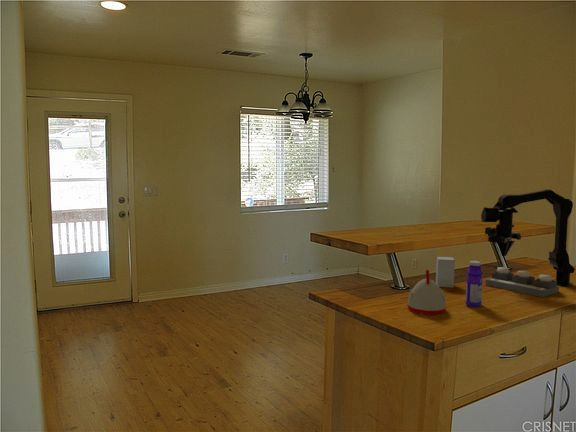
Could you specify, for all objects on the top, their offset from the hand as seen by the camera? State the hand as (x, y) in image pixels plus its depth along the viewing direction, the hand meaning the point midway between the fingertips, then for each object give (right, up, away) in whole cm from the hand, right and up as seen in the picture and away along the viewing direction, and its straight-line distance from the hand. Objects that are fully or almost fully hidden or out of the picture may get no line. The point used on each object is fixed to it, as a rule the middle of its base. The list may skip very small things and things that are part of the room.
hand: (503, 256), depth 225 cm
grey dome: (-47, -17, -39) cm, 64 cm away
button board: (+5, -14, -7) cm, 16 cm away
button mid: (+6, -9, -7) cm, 13 cm away
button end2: (+12, -10, -14) cm, 21 cm away
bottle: (-27, -17, -34) cm, 46 cm away
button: (0, -8, +1) cm, 8 cm away
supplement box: (-28, -13, -2) cm, 31 cm away
